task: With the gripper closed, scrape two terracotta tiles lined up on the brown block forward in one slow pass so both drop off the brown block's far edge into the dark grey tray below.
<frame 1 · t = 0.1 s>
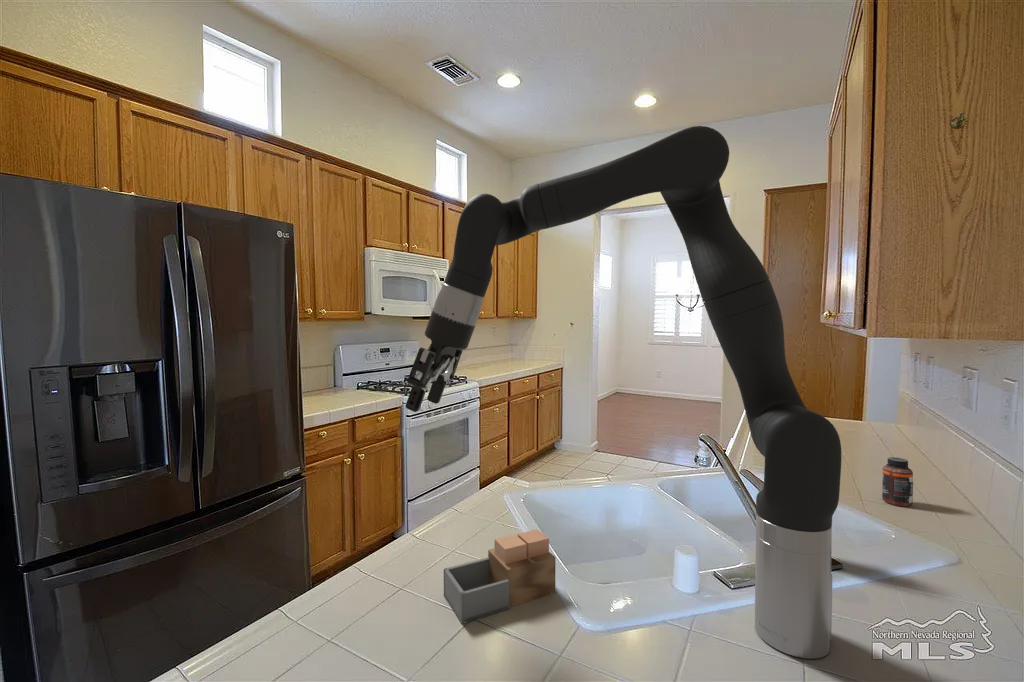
hand: (422, 405, 77), 31 cm above the table, tool tilted 20°, fingers open, 8 cm apart
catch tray: (475, 602, 74), on the table
tile b: (510, 556, 76), point 6 cm above the table, touching brown block
supplement bottle: (897, 503, 116), on the table
tile a: (532, 550, 78), point 6 cm above the table, touching brown block
brown block: (521, 588, 78), on the table
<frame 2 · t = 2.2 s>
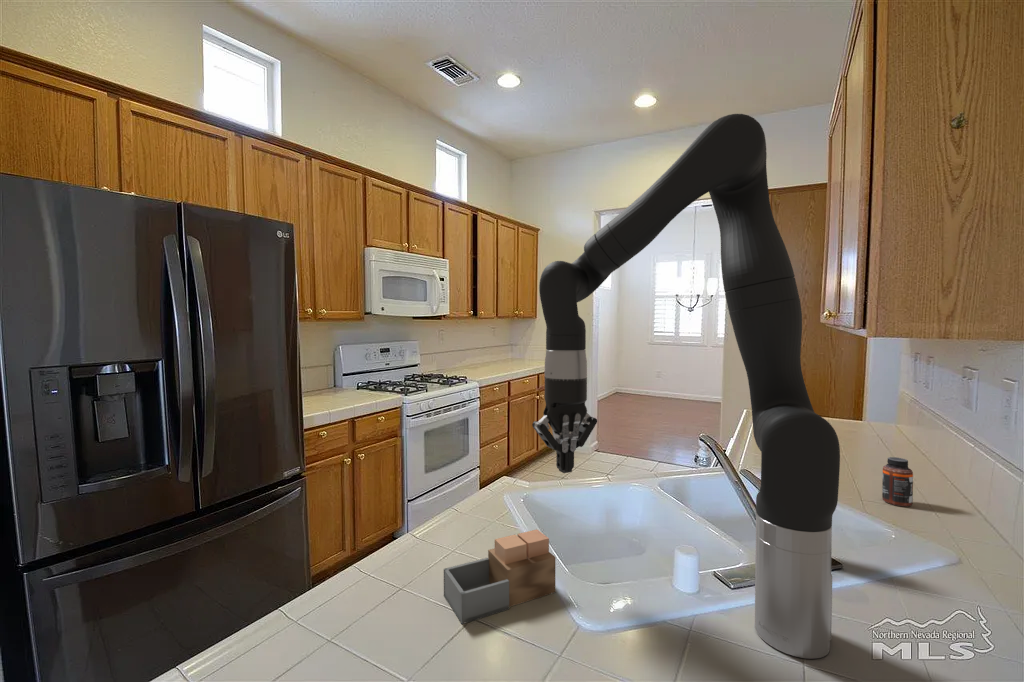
hand: (565, 471, 81), 19 cm above the table, tool pointing down, fingers closed
nothing on the table moved.
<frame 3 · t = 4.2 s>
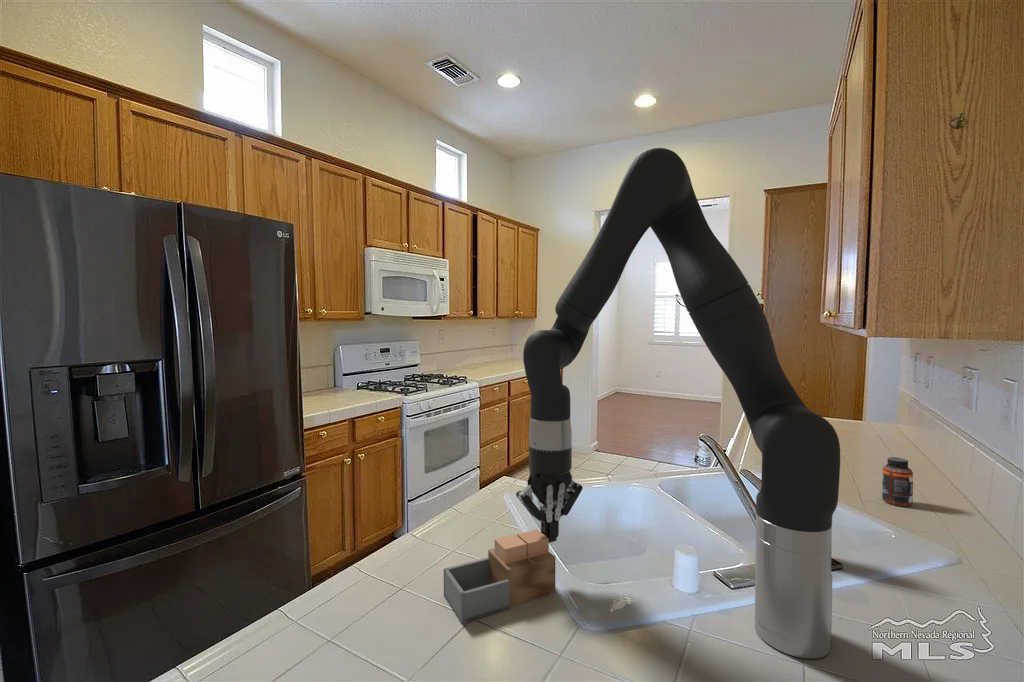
hand: (549, 540, 80), 7 cm above the table, tool pointing down, fingers closed
tile a: (532, 550, 78), point 6 cm above the table, touching gripper
everything else where it was.
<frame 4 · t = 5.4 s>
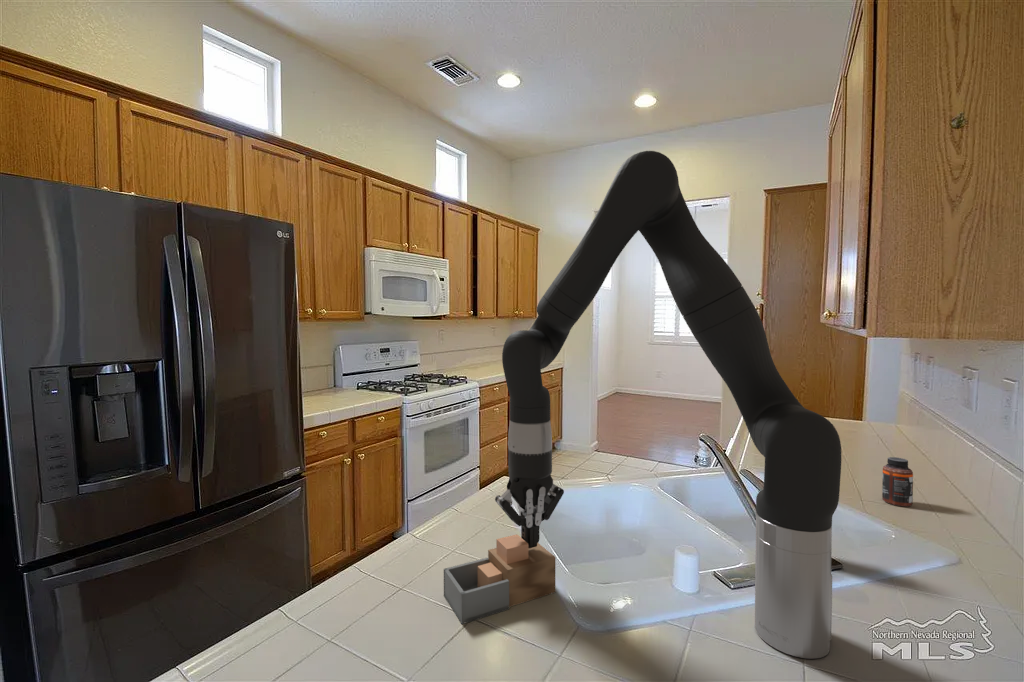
hand: (530, 545, 78), 7 cm above the table, tool pointing down, fingers closed
tile b: (496, 579, 75), point 3 cm above the table, tilted 90°, touching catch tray
tile a: (512, 556, 77), point 6 cm above the table, touching brown block, gripper
everything else where it was.
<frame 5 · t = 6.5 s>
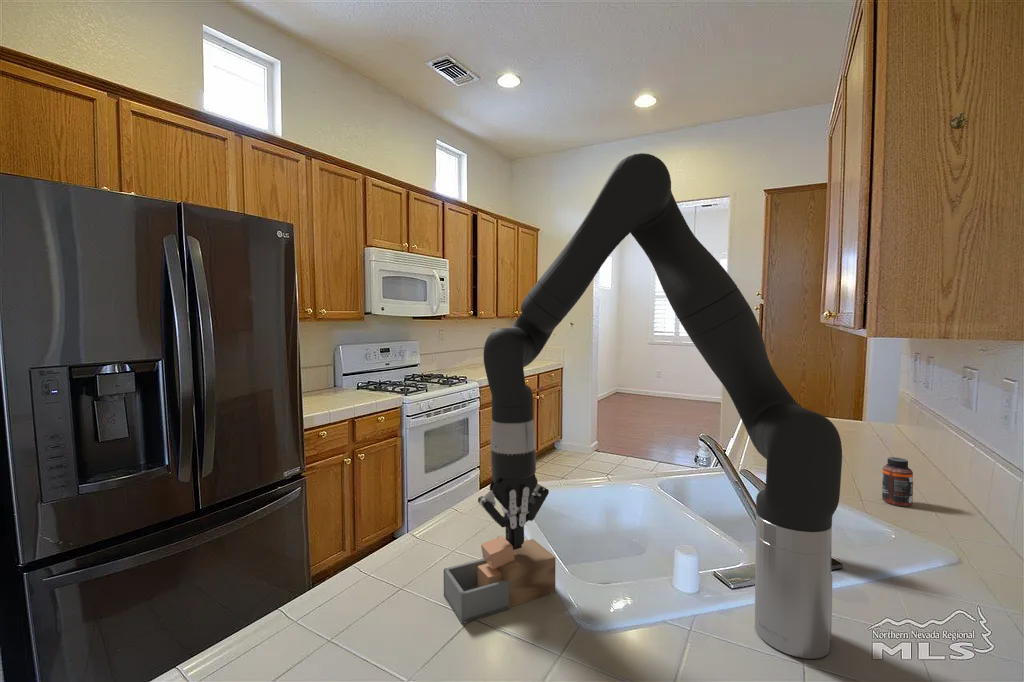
hand: (515, 546, 77), 7 cm above the table, tool pointing down, fingers closed
tile a: (498, 559, 75), point 6 cm above the table, tilted 9°, touching brown block, gripper
everything else where it was.
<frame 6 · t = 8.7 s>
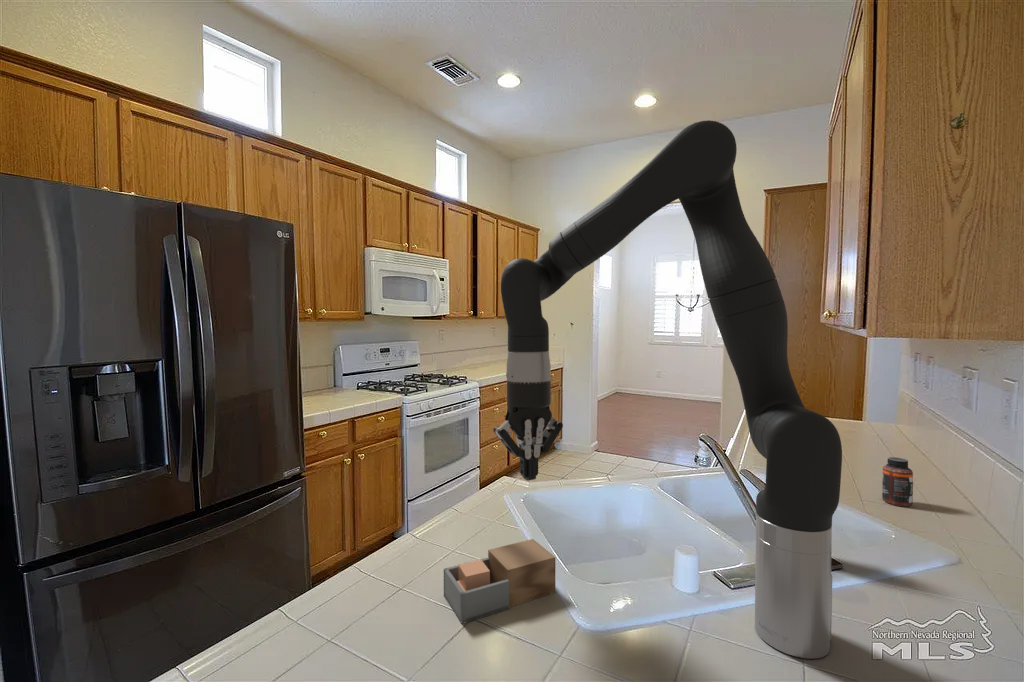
hand: (529, 478, 78), 19 cm above the table, tool pointing down, fingers closed
tile b: (471, 584, 73), point 3 cm above the table, tilted 180°, touching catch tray, tile a
tile a: (473, 582, 74), point 3 cm above the table, touching tile b
everything else where it was.
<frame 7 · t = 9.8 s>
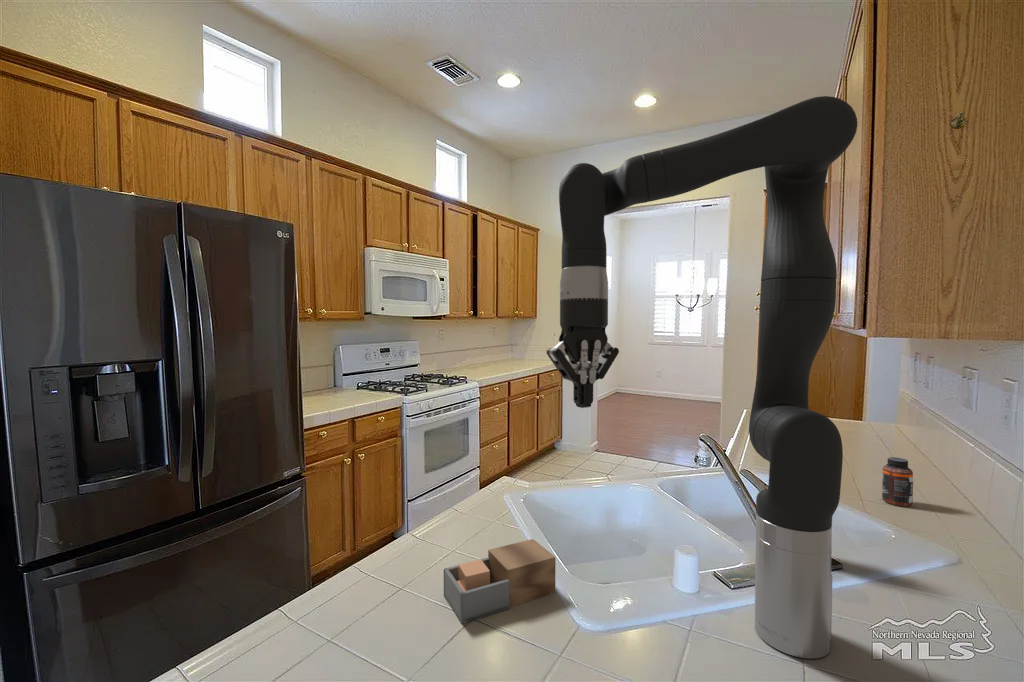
hand: (583, 406, 72), 32 cm above the table, tool pointing down, fingers closed
nothing on the table moved.
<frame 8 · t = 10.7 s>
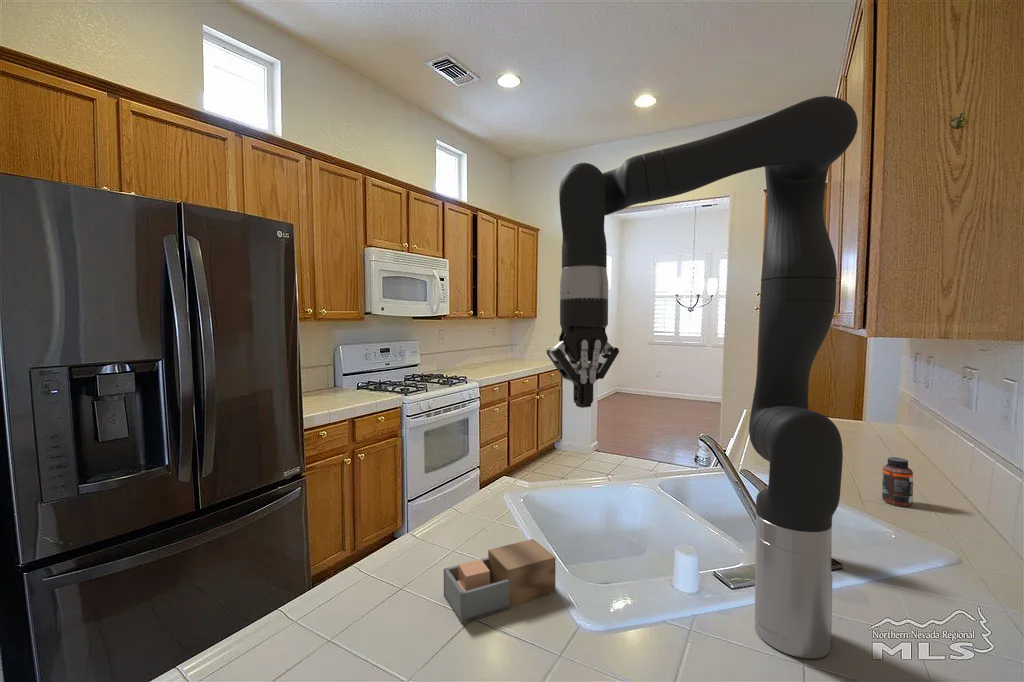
hand: (583, 406, 72), 32 cm above the table, tool pointing down, fingers closed
nothing on the table moved.
at the end: tile a inside the target area (0.5 cm from its centre), point 3.1 cm above the table; tile b inside the target area (0.3 cm from its centre), point 3.1 cm above the table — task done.
